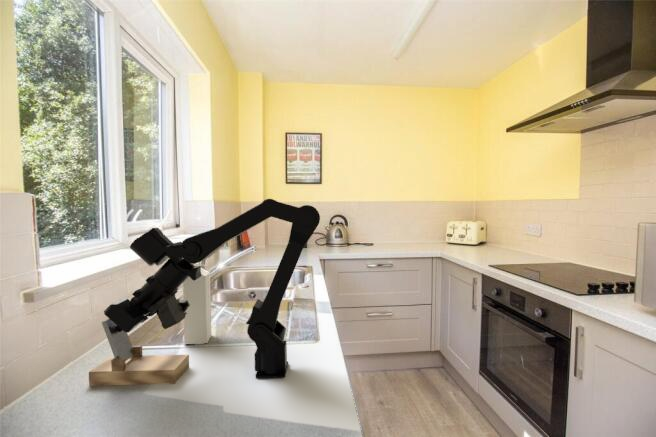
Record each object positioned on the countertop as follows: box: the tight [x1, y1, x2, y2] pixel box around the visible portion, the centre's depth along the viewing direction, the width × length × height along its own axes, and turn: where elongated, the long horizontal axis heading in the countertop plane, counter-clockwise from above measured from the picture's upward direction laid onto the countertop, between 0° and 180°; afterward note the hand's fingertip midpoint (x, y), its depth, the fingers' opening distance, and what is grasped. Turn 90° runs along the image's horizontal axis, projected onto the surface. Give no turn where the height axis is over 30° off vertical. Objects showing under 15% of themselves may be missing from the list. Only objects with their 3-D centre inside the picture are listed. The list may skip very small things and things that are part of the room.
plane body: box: [88, 345, 190, 387], centre depth 69 cm, size 18×7×5 cm, turn 91°
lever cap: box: [101, 318, 135, 361], centre depth 69 cm, size 2×5×10 cm, turn 1°
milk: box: [182, 262, 212, 346], centre depth 88 cm, size 6×6×22 cm
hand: (118, 330), depth 69 cm, fingers closed, pressing on lever cap
